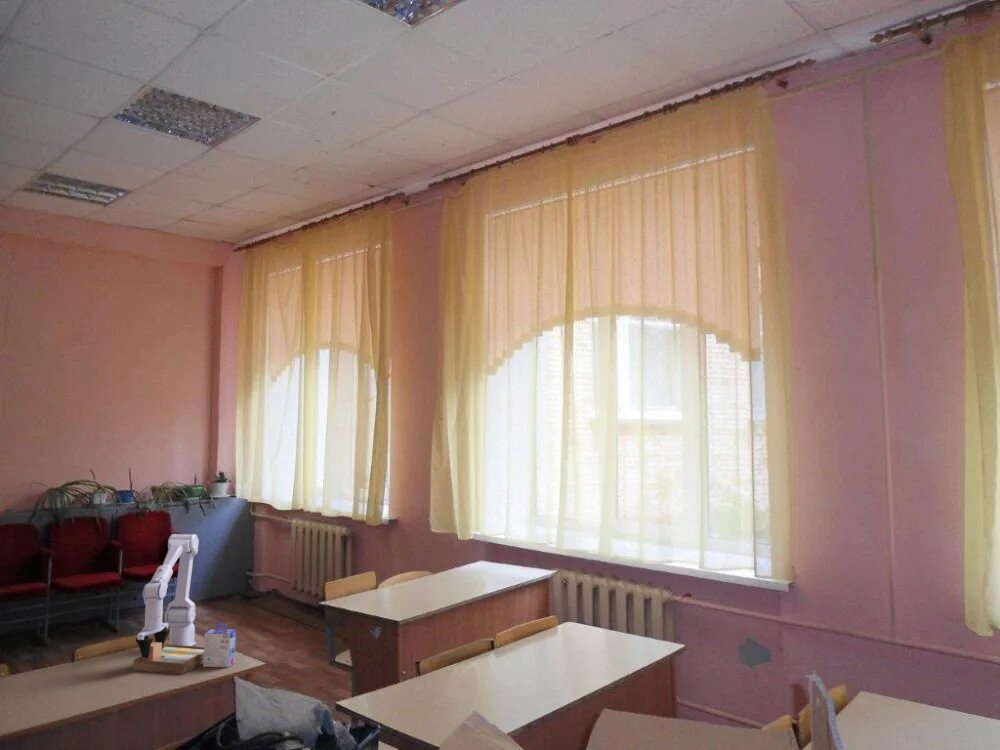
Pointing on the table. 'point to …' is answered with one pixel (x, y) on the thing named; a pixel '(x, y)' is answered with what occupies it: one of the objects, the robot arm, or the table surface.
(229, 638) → the ink cartridge box
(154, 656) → the terracotta block
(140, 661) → the puzzle tray
